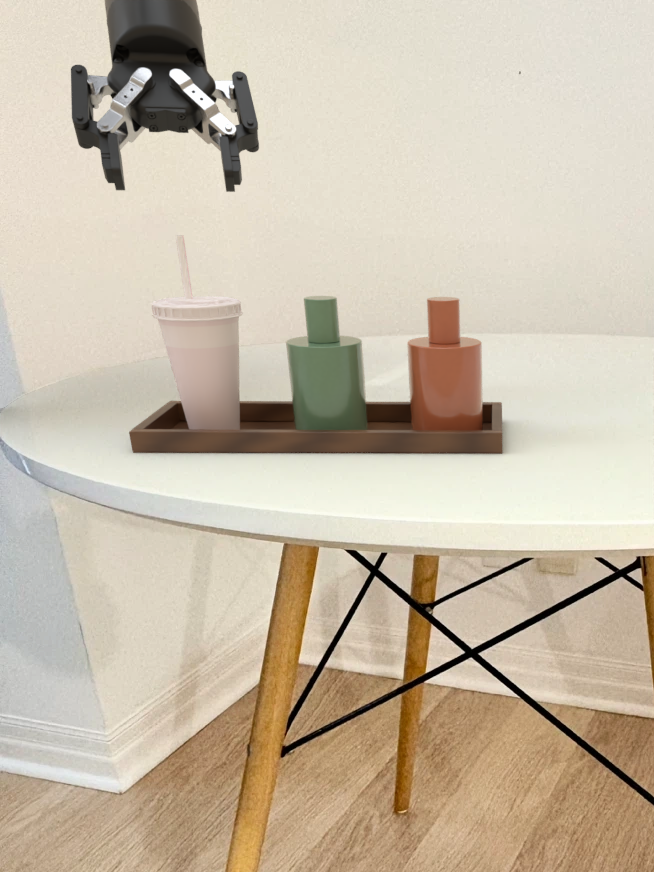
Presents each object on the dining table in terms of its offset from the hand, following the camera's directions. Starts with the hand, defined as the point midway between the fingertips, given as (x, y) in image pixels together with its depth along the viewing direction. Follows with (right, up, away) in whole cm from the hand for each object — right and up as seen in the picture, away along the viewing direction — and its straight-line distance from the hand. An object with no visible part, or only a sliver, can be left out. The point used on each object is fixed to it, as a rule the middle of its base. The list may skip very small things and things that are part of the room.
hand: (175, 183), depth 81 cm
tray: (+13, -21, -2) cm, 25 cm away
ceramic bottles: (+18, -21, -2) cm, 27 cm away
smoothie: (+4, -21, -2) cm, 22 cm away
